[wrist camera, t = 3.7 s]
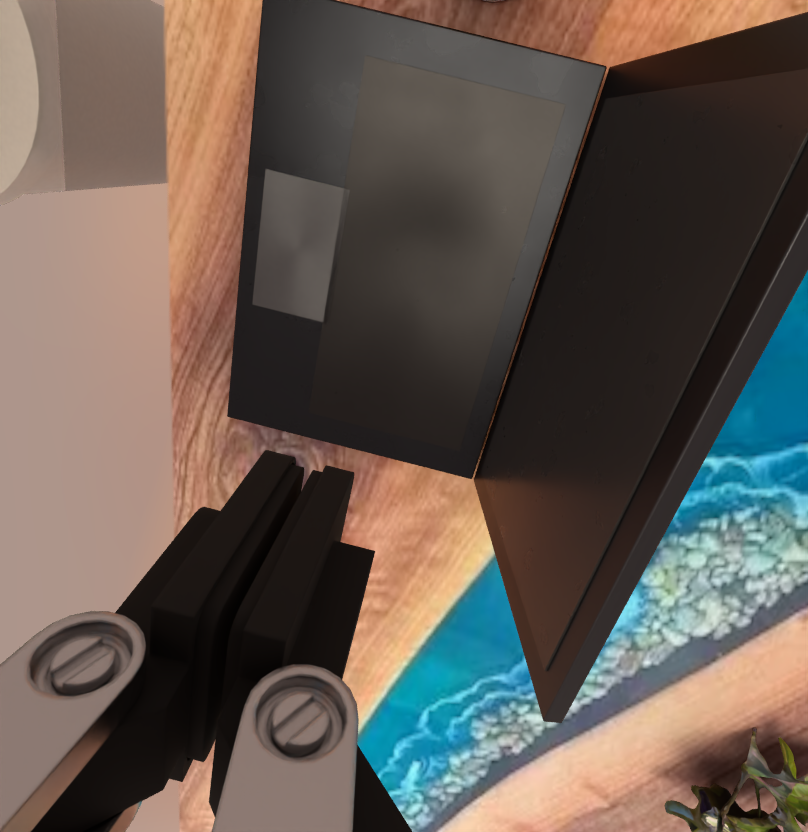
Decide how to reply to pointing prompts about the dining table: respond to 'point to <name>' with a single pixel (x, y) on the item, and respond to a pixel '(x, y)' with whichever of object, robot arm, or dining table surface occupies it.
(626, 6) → the dining table surface
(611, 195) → the laptop screen
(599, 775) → the dining table surface
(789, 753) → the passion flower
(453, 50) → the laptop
